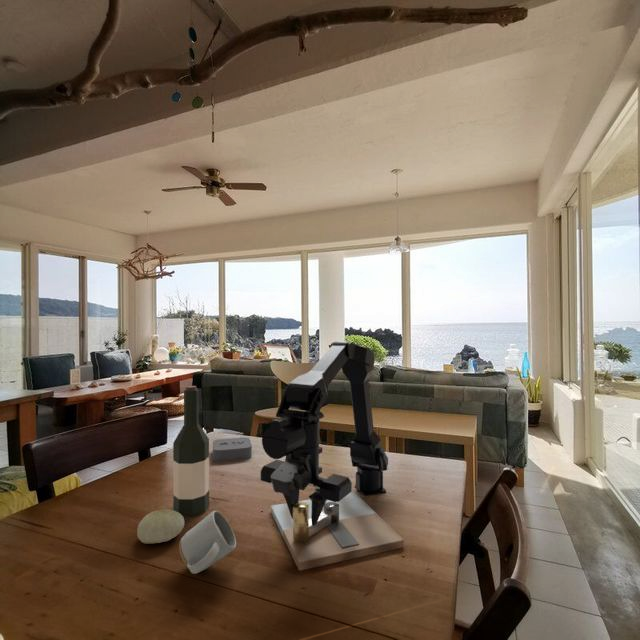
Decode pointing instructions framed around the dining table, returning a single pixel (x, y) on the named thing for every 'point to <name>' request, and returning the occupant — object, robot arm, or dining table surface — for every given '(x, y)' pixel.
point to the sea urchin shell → (160, 526)
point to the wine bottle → (191, 461)
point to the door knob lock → (304, 524)
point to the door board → (339, 534)
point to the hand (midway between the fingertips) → (303, 521)
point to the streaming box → (232, 449)
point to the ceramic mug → (207, 542)
